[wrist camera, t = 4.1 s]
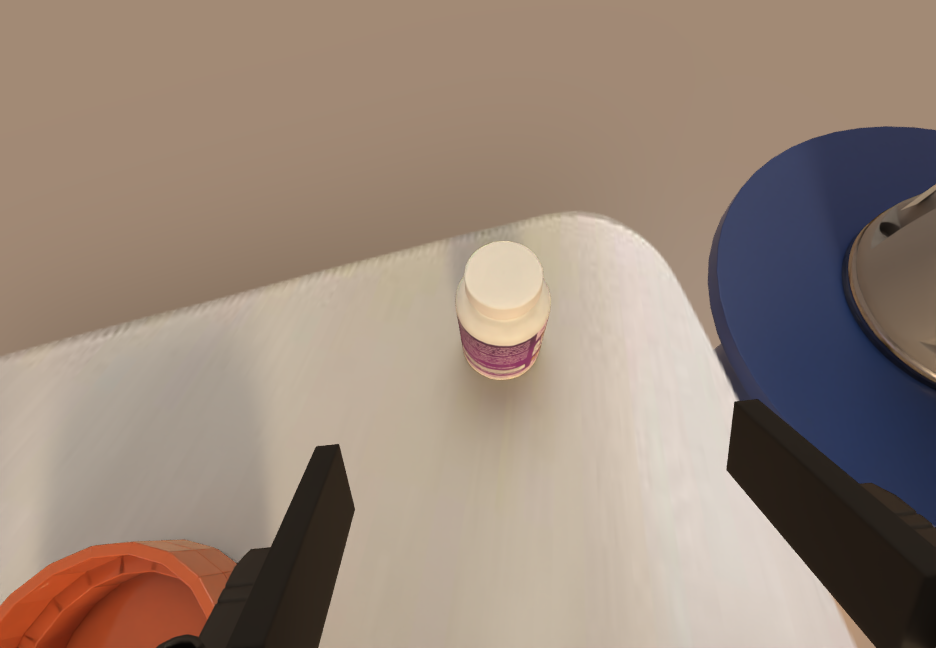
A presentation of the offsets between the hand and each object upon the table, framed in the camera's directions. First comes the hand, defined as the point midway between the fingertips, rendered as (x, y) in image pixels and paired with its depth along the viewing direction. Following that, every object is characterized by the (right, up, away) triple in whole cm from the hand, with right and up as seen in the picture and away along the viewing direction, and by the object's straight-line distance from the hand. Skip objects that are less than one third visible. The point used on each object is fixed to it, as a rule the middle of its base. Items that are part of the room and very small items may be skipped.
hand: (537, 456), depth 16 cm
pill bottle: (0, +3, +17) cm, 17 cm away
